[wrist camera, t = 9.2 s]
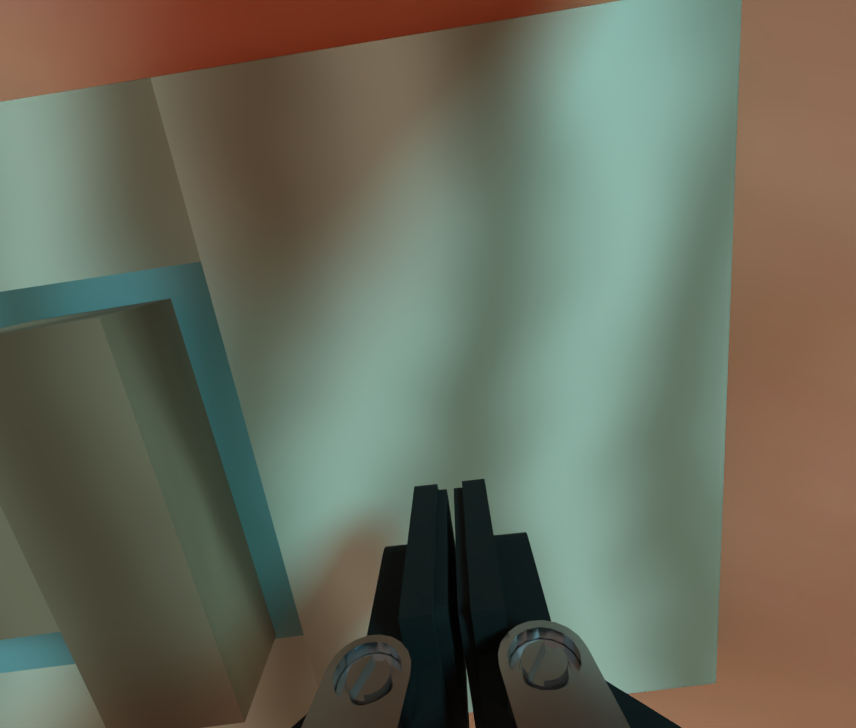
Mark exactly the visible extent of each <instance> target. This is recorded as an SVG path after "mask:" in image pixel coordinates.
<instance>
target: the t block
mask: <svg viewBox="0 0 856 728" xmlns="http://www.w3.org/2000/svg"><path fill="white" fill-rule="evenodd" d="M55 632H61V634H62V636H63V639H64V641H65V643H66V645H67V647H68V649H69V651H70V653H71V655H72V657H73V660H74V662H75V664H76V666H77V668H78V670H79V672H80V674H81V676H82V679H83V681H84V683H85V685H86V687H87V689H88V691H89V693H90V695H91V697H92V700H93V702H94V704H95V706H96V708H97V710H98V712H99V714H100V716H101V719H102V721H103V723H104V725H105V727H106V728H204V727H212V726H220V725H228V724H235V723H243V722H245V720H246V718H247V715H248V712H249V709H250V706H251V704H252V701H253V698H254V695H255V693H256V690H257V687H258V684H259V682H260V679H261V676H262V673H263V670H264V668H265V665H266V662H267V659H268V657H269V654H270V651H271V648H272V646H273V643H274V640H275V637H276V633H275V630H274V627H273V624H272V620H271V617H270V614H269V611H268V608H267V604H266V601H265V598H264V595H263V592H262V588H261V585H260V582H259V579H258V576H257V572H256V569H255V566H254V563H253V560H252V557H251V553H250V550H249V547H248V544H247V541H246V537H245V534H244V531H243V528H242V525H241V521H240V518H239V515H238V512H237V509H236V505H235V502H234V499H233V496H232V493H231V489H230V486H229V483H228V480H227V477H226V473H225V470H224V467H223V464H222V461H221V457H220V454H219V451H218V448H217V445H216V441H215V438H214V435H213V432H212V429H211V425H210V422H209V419H208V416H207V413H206V410H205V406H204V403H203V400H202V397H201V394H200V390H199V387H198V384H197V381H196V378H195V374H194V371H193V368H192V365H191V362H190V358H189V355H188V352H187V349H186V346H185V342H184V339H183V336H182V333H181V330H180V326H179V323H178V320H177V317H176V314H175V310H174V307H173V304H172V301H171V298H169V299H163V300H157V301H151V302H145V303H138V304H132V305H126V306H120V307H114V308H108V309H101V310H95V311H89V312H83V313H77V314H71V315H64V316H58V317H52V318H46V319H40V320H34V321H29V322H25V323H21V324H17V325H12V326H8V327H4V328H0V640H4V639H11V638H19V637H26V636H33V635H40V634H47V633H55Z"/></svg>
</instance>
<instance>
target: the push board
mask: <svg viewBox="0 0 856 728" xmlns="http://www.w3.org/2000/svg"><path fill="white" fill-rule="evenodd" d="M741 3H742V0H623V1H616V2H610V3H604V4H598V5H592V6H586V7H580V8H574V9H567V10H561V11H555V12H549V13H543V14H537V15H531V16H524V17H518V18H512V19H506V20H500V21H494V22H488V23H482V24H475V25H469V26H463V27H457V28H451V29H445V30H439V31H433V32H426V33H420V34H414V35H408V36H402V37H396V38H390V39H384V40H377V41H371V42H365V43H359V44H353V45H347V46H341V47H335V48H328V49H322V50H316V51H310V52H304V53H298V54H292V55H285V56H279V57H273V58H267V59H261V60H255V61H249V62H243V63H236V64H230V65H224V66H218V67H212V68H206V69H200V70H194V71H187V72H181V73H175V74H169V75H163V76H157V77H151V78H145V79H138V80H132V81H126V82H120V83H114V84H108V85H102V86H95V87H89V88H83V89H77V90H71V91H65V92H59V93H53V94H46V95H40V96H34V97H28V98H22V99H16V100H10V101H4V102H0V328H4V327H8V326H12V325H17V324H21V323H25V322H29V321H34V320H40V319H46V318H52V317H58V316H64V315H71V314H77V313H83V312H89V311H95V310H101V309H108V308H114V307H120V306H126V305H132V304H138V303H145V302H151V301H157V300H163V299H169V298H171V301H172V304H173V307H174V310H175V314H176V317H177V320H178V323H179V326H180V330H181V333H182V336H183V339H184V342H185V346H186V349H187V352H188V355H189V358H190V362H191V365H192V368H193V371H194V374H195V378H196V381H197V384H198V387H199V390H200V394H201V397H202V400H203V403H204V406H205V410H206V413H207V416H208V419H209V422H210V425H211V429H212V432H213V435H214V438H215V441H216V445H217V448H218V451H219V454H220V457H221V461H222V464H223V467H224V470H225V473H226V477H227V480H228V483H229V486H230V489H231V493H232V496H233V499H234V502H235V505H236V509H237V512H238V515H239V518H240V521H241V525H242V528H243V531H244V534H245V537H246V541H247V544H248V547H249V550H250V553H251V557H252V560H253V563H254V566H255V569H256V572H257V576H258V579H259V582H260V585H261V588H262V592H263V595H264V598H265V601H266V604H267V608H268V611H269V614H270V617H271V620H272V624H273V627H274V630H275V633H276V637H275V640H274V643H273V646H272V648H271V651H270V654H269V657H268V659H267V662H266V665H265V668H264V670H263V673H262V676H261V679H260V682H259V684H258V687H257V690H256V693H255V695H254V698H253V701H252V704H251V706H250V709H249V712H248V715H247V718H246V720H245V722H243V723H235V724H228V725H220V726H212V727H204V728H291V727H292V726H293V725H295V724H296V723H297V722H298V721H299V720H300V719H302V718H303V717H304V716H305V715H306V714H307V713H308V710H309V708H310V706H311V703H312V701H313V699H314V696H315V694H316V692H317V690H318V687H319V685H320V683H321V680H322V678H323V676H324V673H325V671H326V669H327V667H328V665H329V664H330V662H331V660H332V659H333V657H334V656H335V655H336V654H337V653H338V652H339V651H340V650H341V649H342V648H343V647H345V646H346V645H348V644H349V643H351V642H353V641H354V640H357V639H359V638H362V637H365V636H367V632H368V627H369V622H370V617H371V612H372V606H373V601H374V596H375V591H376V586H377V581H378V576H379V571H380V566H381V561H382V555H383V551H384V548H385V547H386V546H395V545H405V544H407V541H408V533H409V525H410V517H411V509H412V501H413V492H414V487H415V486H423V485H432V484H437V485H438V489H439V490H442V489H447V493H448V499H449V506H450V512H451V519H452V525H453V532H454V539H455V514H454V488H460V487H462V481H467V480H476V479H485V485H486V491H487V497H488V503H489V509H490V516H491V522H492V528H493V534H494V535H502V534H511V533H521V532H526V533H527V535H528V538H529V542H530V546H531V549H532V553H533V557H534V560H535V564H536V567H537V571H538V575H539V578H540V582H541V586H542V589H543V593H544V597H545V600H546V604H547V607H548V611H549V615H550V618H551V622H556V623H559V624H561V625H563V626H566V627H568V628H570V629H571V630H572V631H573V632H575V633H576V634H577V635H579V636H580V638H581V639H582V640H583V642H584V643H585V644H586V646H587V647H588V649H589V651H590V653H591V654H592V656H593V658H594V660H595V662H596V664H597V666H598V668H599V669H600V671H601V673H602V675H603V677H604V679H605V680H606V681H607V682H609V683H611V684H612V685H614V686H615V687H617V688H619V689H620V690H622V691H623V692H625V693H627V694H628V693H636V692H645V691H653V690H662V689H670V688H678V687H687V686H695V685H704V684H712V683H716V664H717V638H718V611H719V585H720V558H721V532H722V506H723V479H724V453H725V426H726V400H727V373H728V347H729V321H730V294H731V268H732V241H733V215H734V188H735V162H736V135H737V109H738V83H739V56H740V30H741ZM455 545H456V544H455ZM466 672H467V669H466ZM467 692H468V712H473V707H472V701H471V694H470V688H469V681H468V675H467ZM0 728H106V727H105V725H104V723H103V721H102V719H101V716H100V714H99V712H98V710H97V708H96V706H95V704H94V702H93V700H92V697H91V695H90V693H89V691H88V689H87V687H86V685H85V683H84V681H83V679H82V676H81V674H80V672H79V670H78V668H77V666H76V664H75V662H74V660H73V657H72V655H71V653H70V651H69V649H68V647H67V645H66V643H65V641H64V639H63V636H62V634H61V632H55V633H47V634H40V635H33V636H26V637H19V638H11V639H4V640H0Z"/></svg>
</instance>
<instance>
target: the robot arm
mask: <svg viewBox="0 0 856 728" xmlns="http://www.w3.org/2000/svg"><path fill="white" fill-rule="evenodd" d="M454 514H455V539H454V532H453V525H452V519H451V512H450V506H449V499H448V493H447V489H442V490H439V489H438V485H437V484H432V485H423V486H415V487H414V492H413V501H412V509H411V517H410V525H409V533H408V541H407V544H405V545H395V546H386V547H385V548H384V551H383V555H382V561H381V566H380V571H379V576H378V581H377V586H376V591H375V596H374V601H373V606H372V612H371V617H370V622H369V627H368V632H367V636H365V637H362V638H359V639H357V640H354V641H353V642H351V643H349V644H348V645H346V646H345V647H343V648H342V649H341V650H340V651H339V652H338V653H337V654H336V655H335V656H334V657H333V659H332V660H331V662H330V664H329V665H328V667H327V669H326V671H325V673H324V676H323V678H322V680H321V683H320V685H319V687H318V690H317V692H316V694H315V696H314V699H313V701H312V703H311V706H310V708H309V710H308V713H307V714H306V715H305V716H304V717H303V718H302V719H300V720H299V721H298V722H297V723H296V724H295V725H293V726H292V727H291V728H469V713H468V692H467V675H468V681H469V688H470V694H471V701H472V707H473V713H474V720H475V726H476V728H681V727H680V726H678V725H676V724H675V723H673V722H672V721H670V720H668V719H667V718H665V717H664V716H662V715H660V714H659V713H657V712H655V711H654V710H652V709H651V708H649V707H647V706H646V705H644V704H643V703H641V702H639V701H638V700H636V699H635V698H633V697H631V696H630V695H628V694H627V693H625V692H623V691H622V690H620V689H619V688H617V687H615V686H614V685H612V684H611V683H609V682H607V681H606V680H605V679H604V677H603V675H602V673H601V671H600V669H599V668H598V666H597V664H596V662H595V660H594V658H593V656H592V654H591V653H590V651H589V649H588V647H587V646H586V644H585V643H584V642H583V640H582V639H581V638H580V636H579V635H577V634H576V633H575V632H573V631H572V630H571V629H570V628H568V627H566V626H563V625H561V624H559V623H556V622H551V618H550V615H549V611H548V607H547V604H546V600H545V597H544V593H543V589H542V586H541V582H540V578H539V575H538V571H537V567H536V564H535V560H534V557H533V553H532V549H531V546H530V542H529V538H528V535H527V533H526V532H521V533H511V534H502V535H494V534H493V528H492V522H491V516H490V509H489V503H488V497H487V491H486V485H485V479H476V480H467V481H462V487H460V488H454ZM455 544H456V545H455ZM466 669H467V672H466Z"/></svg>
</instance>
